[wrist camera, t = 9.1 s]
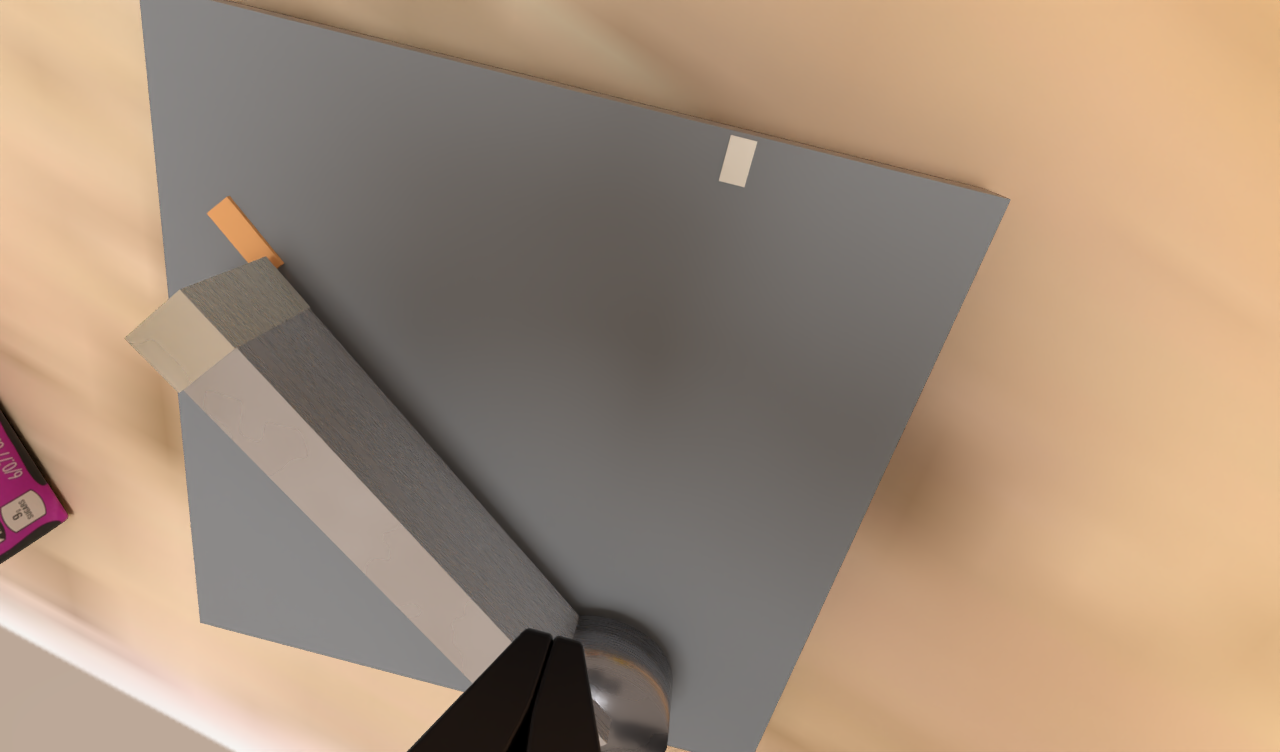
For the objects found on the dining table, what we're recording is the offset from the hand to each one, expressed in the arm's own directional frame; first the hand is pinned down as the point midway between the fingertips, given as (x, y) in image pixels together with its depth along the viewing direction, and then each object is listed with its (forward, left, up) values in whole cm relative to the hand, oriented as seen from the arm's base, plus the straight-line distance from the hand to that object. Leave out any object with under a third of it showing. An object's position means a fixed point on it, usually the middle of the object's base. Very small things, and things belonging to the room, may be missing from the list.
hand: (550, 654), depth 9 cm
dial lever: (-6, +4, -8) cm, 11 cm away
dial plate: (-3, +3, -10) cm, 11 cm away
